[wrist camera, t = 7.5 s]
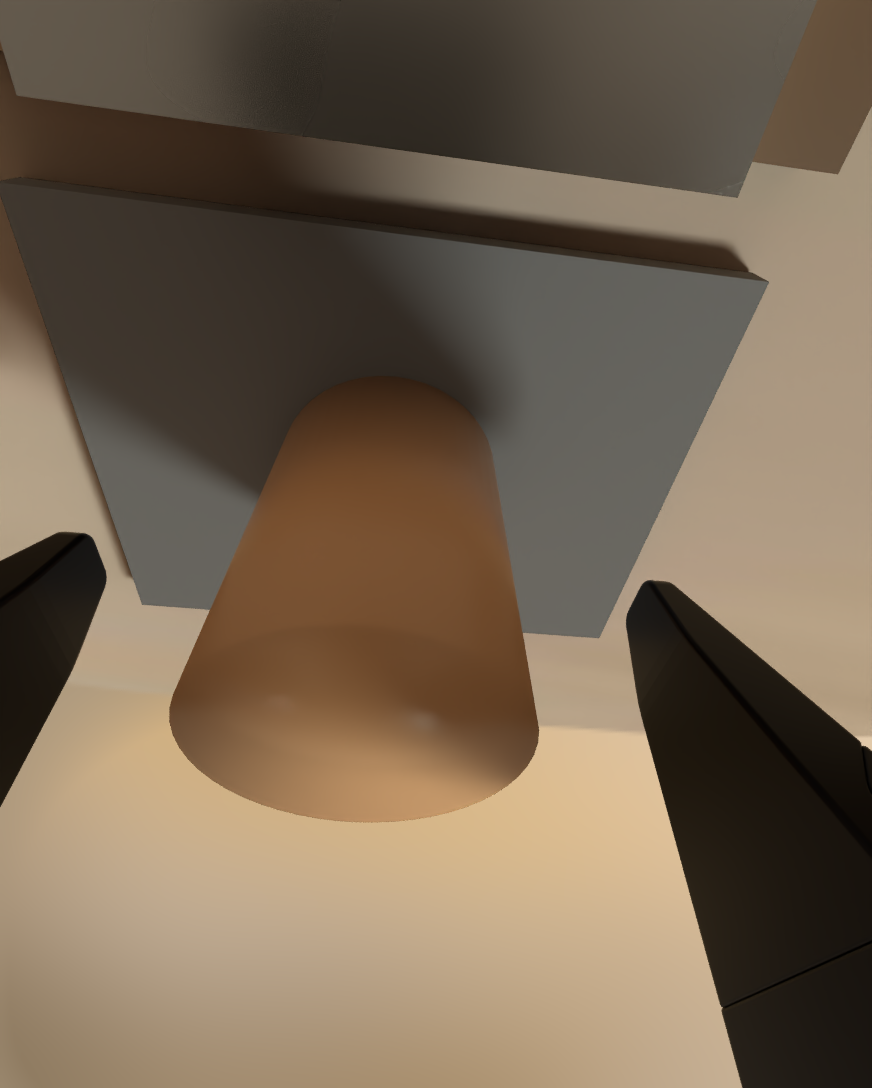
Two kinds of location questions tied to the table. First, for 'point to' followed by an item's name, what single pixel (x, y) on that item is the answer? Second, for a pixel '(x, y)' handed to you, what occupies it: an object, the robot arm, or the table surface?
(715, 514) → the table surface
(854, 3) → the board
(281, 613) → the orange-tan rounded capsule
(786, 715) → the robot arm
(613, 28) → the clamp jaws
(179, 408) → the pad
